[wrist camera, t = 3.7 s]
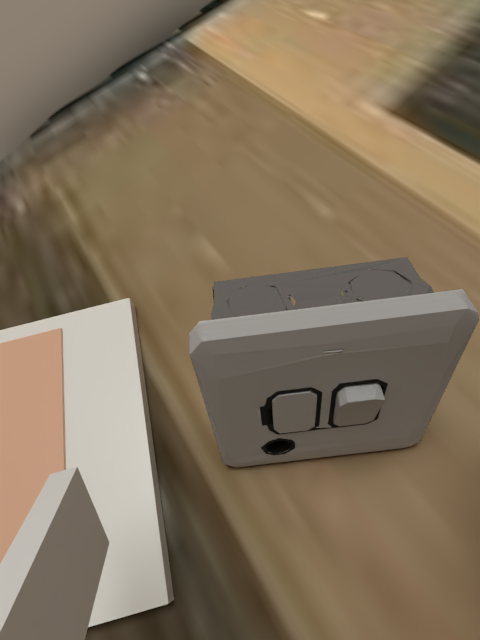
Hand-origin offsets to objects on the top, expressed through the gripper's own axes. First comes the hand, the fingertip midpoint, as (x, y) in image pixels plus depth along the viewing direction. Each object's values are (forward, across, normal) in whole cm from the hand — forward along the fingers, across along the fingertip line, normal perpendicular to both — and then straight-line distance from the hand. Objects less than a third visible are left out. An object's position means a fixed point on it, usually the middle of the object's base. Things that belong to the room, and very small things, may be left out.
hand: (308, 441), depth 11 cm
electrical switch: (+8, +2, -3) cm, 9 cm away
